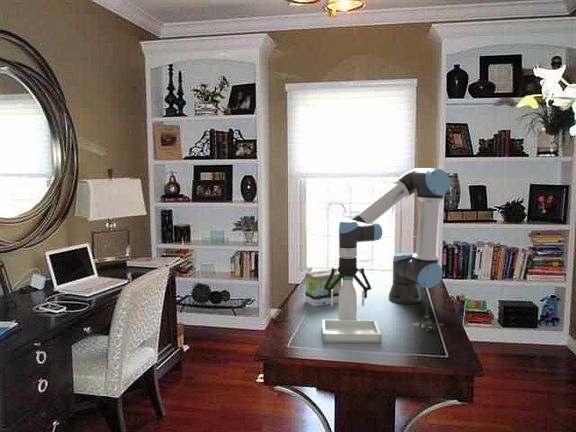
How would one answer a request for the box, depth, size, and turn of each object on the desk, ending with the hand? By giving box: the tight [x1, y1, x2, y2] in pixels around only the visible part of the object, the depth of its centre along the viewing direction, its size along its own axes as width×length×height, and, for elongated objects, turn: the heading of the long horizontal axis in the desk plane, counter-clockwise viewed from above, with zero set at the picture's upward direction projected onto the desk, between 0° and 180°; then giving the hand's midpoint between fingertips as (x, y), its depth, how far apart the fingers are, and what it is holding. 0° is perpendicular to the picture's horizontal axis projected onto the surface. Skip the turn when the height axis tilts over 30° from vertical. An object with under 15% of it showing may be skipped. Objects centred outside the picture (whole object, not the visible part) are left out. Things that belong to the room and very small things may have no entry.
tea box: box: [304, 269, 343, 308], centre depth 231 cm, size 15×10×15 cm, turn 117°
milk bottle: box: [338, 276, 357, 320], centre depth 205 cm, size 8×8×20 cm
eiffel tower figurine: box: [407, 299, 444, 332], centre depth 196 cm, size 15×10×13 cm
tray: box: [321, 318, 382, 344], centre depth 189 cm, size 22×16×4 cm
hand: (347, 305), depth 205 cm, fingers open, 13 cm apart
